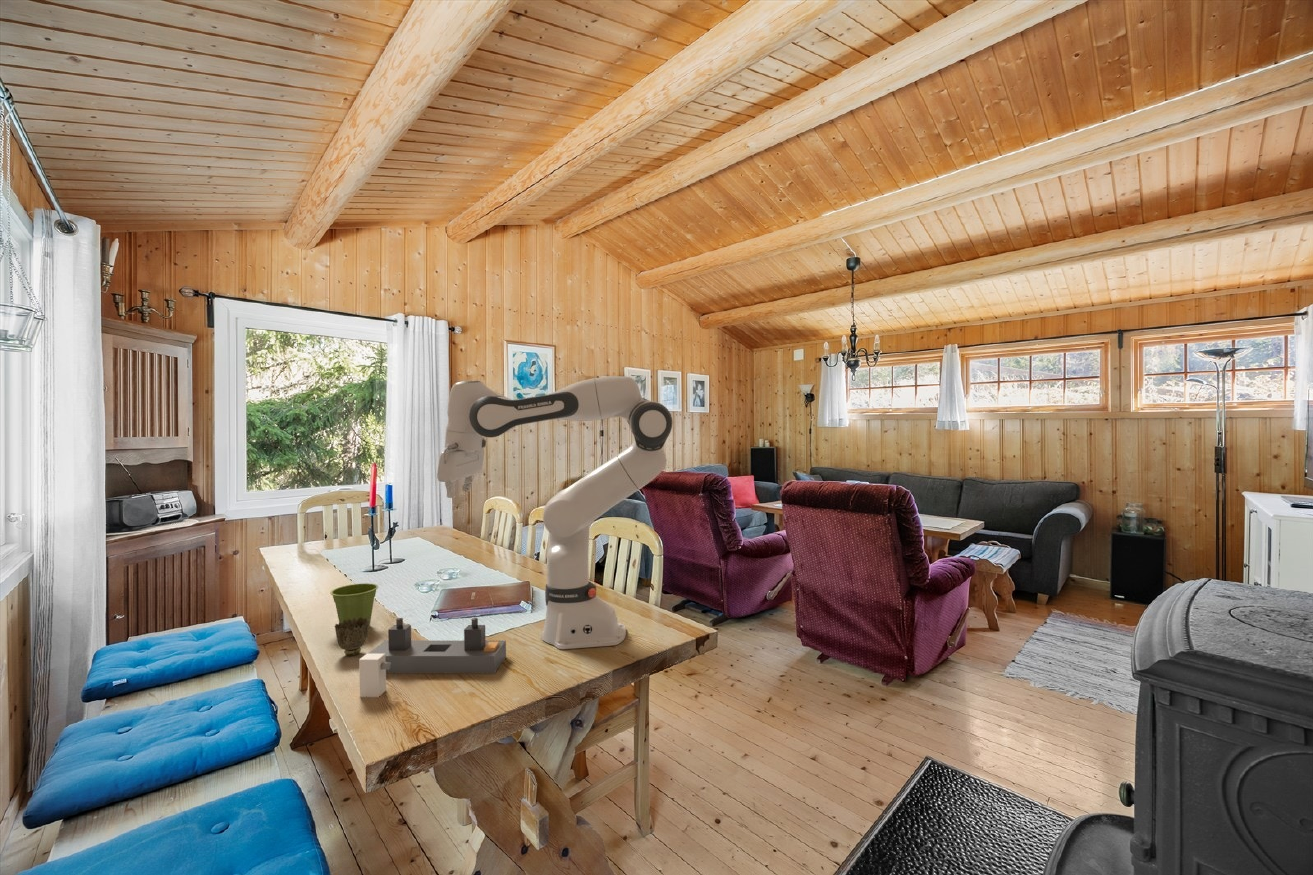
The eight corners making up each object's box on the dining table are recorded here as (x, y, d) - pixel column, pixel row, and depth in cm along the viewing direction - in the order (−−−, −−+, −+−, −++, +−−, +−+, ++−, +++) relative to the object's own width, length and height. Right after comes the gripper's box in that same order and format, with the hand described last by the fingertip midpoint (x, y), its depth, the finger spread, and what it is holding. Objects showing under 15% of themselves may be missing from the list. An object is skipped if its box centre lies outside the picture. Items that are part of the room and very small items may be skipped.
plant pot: (388, 624, 158) (387, 585, 158) (350, 639, 147) (349, 597, 147) (360, 618, 163) (359, 580, 163) (321, 632, 152) (320, 592, 152)
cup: (331, 654, 138) (331, 622, 138) (363, 645, 143) (363, 614, 143) (340, 663, 133) (339, 630, 133) (373, 653, 138) (372, 622, 138)
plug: (393, 690, 119) (392, 653, 119) (386, 697, 116) (385, 659, 116) (367, 690, 119) (367, 653, 119) (360, 697, 116) (359, 659, 116)
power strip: (506, 656, 136) (505, 612, 135) (494, 673, 127) (493, 625, 126) (385, 656, 136) (384, 612, 136) (365, 673, 127) (364, 625, 127)
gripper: (457, 446, 134) (453, 503, 135) (489, 440, 154) (484, 489, 155) (432, 444, 134) (428, 499, 135) (467, 438, 155) (463, 486, 156)
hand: (458, 494), depth 145 cm, fingers open, 8 cm apart
